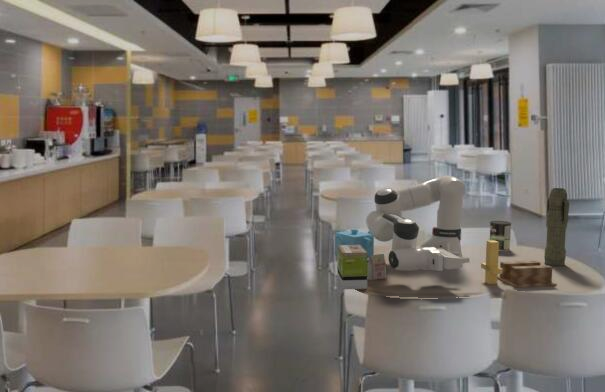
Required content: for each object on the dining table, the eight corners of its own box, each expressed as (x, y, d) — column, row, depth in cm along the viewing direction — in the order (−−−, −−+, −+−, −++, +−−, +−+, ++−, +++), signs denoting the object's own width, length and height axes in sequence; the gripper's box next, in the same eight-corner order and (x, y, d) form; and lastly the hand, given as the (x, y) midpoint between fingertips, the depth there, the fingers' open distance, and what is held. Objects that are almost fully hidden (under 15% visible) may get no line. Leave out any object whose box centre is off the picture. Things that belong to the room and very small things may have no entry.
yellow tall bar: (493, 286, 240) (495, 244, 238) (480, 279, 250) (482, 239, 248) (501, 286, 240) (503, 243, 238) (488, 279, 251) (490, 238, 249)
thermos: (558, 268, 272) (563, 190, 268) (537, 262, 282) (541, 187, 278) (572, 266, 276) (576, 189, 272) (550, 260, 286) (554, 186, 282)
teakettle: (373, 265, 276) (373, 233, 274) (331, 263, 278) (332, 231, 276) (373, 256, 294) (374, 226, 293) (335, 254, 297) (335, 225, 295)
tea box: (336, 280, 249) (336, 244, 247) (360, 279, 249) (361, 244, 248) (342, 289, 234) (342, 252, 232) (367, 289, 235) (368, 251, 233)
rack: (515, 287, 239) (515, 269, 238) (495, 277, 254) (495, 261, 253) (556, 285, 242) (557, 268, 241) (534, 275, 257) (535, 259, 257)
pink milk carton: (366, 278, 252) (367, 254, 250) (380, 276, 255) (380, 253, 253) (371, 280, 248) (372, 256, 247) (385, 278, 251) (386, 254, 250)
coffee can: (494, 251, 307) (495, 224, 306) (485, 247, 317) (486, 220, 316) (513, 251, 308) (514, 223, 307) (504, 247, 319) (505, 220, 317)
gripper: (420, 260, 250) (452, 259, 252) (440, 272, 230) (474, 270, 232) (421, 245, 249) (452, 244, 252) (440, 255, 229) (475, 254, 232)
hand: (463, 257), depth 242 cm, fingers open, 8 cm apart
